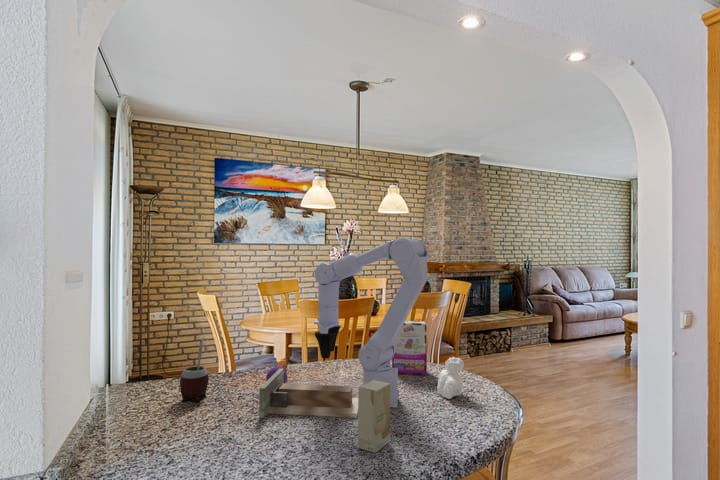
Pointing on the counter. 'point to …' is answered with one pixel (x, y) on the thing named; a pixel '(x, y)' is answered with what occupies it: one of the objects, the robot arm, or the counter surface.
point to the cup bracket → (277, 404)
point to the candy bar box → (411, 349)
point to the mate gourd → (194, 381)
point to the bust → (450, 378)
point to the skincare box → (373, 415)
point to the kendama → (273, 370)
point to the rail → (318, 395)
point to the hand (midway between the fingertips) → (327, 354)
